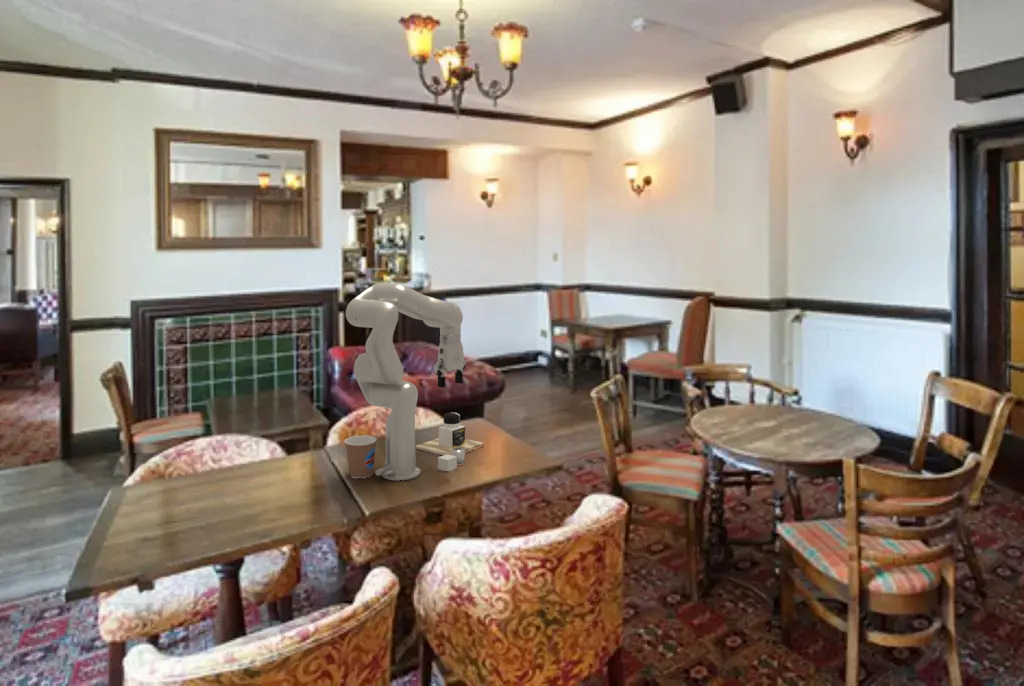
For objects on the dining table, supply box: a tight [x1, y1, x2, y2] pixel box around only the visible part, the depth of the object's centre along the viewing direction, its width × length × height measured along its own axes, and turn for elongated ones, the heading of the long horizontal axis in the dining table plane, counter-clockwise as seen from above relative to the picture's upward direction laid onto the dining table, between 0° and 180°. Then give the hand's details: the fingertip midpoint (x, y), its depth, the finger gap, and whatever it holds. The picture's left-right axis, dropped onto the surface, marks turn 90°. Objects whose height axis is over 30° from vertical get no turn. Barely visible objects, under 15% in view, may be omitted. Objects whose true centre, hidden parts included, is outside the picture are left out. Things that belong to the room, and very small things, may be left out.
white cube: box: [437, 454, 458, 472], centre depth 216 cm, size 4×4×4 cm
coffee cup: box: [344, 435, 378, 479], centre depth 209 cm, size 10×10×12 cm
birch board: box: [415, 437, 485, 455], centre depth 240 cm, size 18×18×2 cm
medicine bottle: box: [438, 412, 466, 449], centre depth 238 cm, size 7×7×12 cm
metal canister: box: [452, 448, 466, 464], centre depth 222 cm, size 4×4×5 cm
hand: (450, 385), depth 236 cm, fingers open, 9 cm apart
